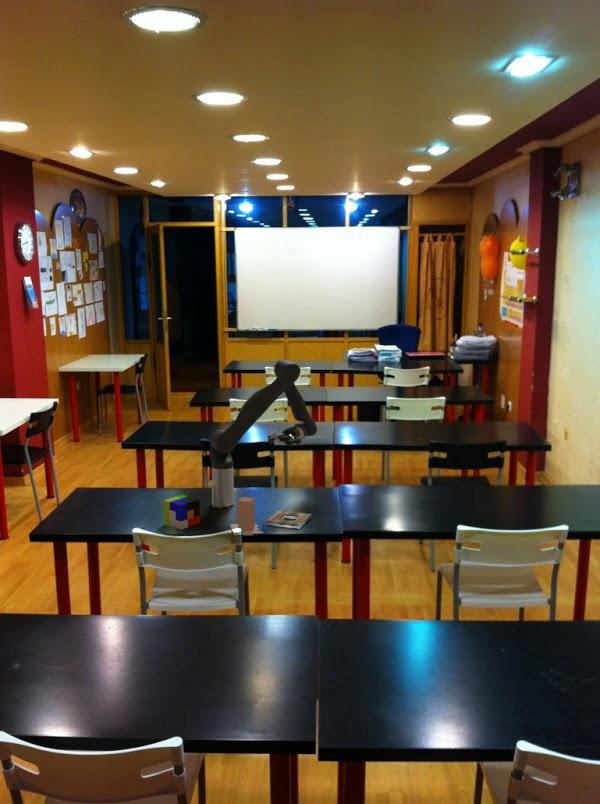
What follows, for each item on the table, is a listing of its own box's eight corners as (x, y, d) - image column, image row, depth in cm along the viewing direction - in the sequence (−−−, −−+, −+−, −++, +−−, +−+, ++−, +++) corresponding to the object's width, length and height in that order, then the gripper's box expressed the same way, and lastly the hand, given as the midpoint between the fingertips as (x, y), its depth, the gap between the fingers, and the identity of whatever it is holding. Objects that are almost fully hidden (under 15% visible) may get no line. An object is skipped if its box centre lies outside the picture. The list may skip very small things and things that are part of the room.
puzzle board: (266, 525, 285) (266, 520, 285) (279, 514, 298) (279, 510, 298) (299, 529, 281) (299, 524, 280) (310, 518, 294) (311, 514, 293)
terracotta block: (238, 529, 278) (237, 500, 276) (243, 525, 283) (243, 496, 281) (249, 531, 276) (249, 501, 274) (254, 527, 281) (254, 498, 279)
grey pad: (232, 536, 273) (232, 534, 273) (230, 525, 284) (230, 524, 284) (263, 534, 275) (263, 532, 275) (260, 524, 287) (260, 522, 286)
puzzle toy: (181, 529, 280) (181, 505, 279) (164, 524, 286) (163, 500, 285) (199, 523, 288) (199, 499, 286) (182, 518, 294) (182, 494, 292)
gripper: (278, 425, 317) (263, 432, 302) (308, 428, 312) (294, 435, 297) (277, 442, 318) (263, 449, 303) (307, 445, 313) (294, 452, 298)
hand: (279, 442), depth 300 cm, fingers open, 8 cm apart
